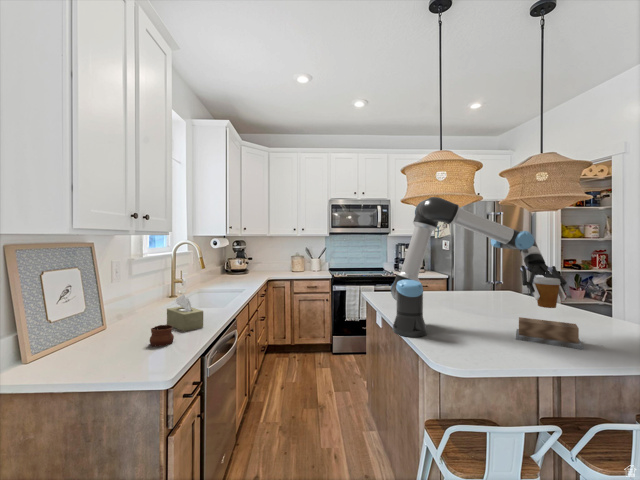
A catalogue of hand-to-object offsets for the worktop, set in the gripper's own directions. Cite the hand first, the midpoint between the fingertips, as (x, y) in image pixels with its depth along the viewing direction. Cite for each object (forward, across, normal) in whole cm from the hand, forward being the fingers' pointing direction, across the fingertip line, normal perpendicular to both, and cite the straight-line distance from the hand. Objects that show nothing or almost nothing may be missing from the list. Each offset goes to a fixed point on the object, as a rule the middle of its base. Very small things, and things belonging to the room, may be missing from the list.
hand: (550, 298), depth 128 cm
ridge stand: (+11, 0, -15) cm, 18 cm away
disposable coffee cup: (+1, 0, -5) cm, 5 cm away
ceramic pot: (+38, +157, +12) cm, 162 cm away
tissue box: (+20, +164, -6) cm, 165 cm away
